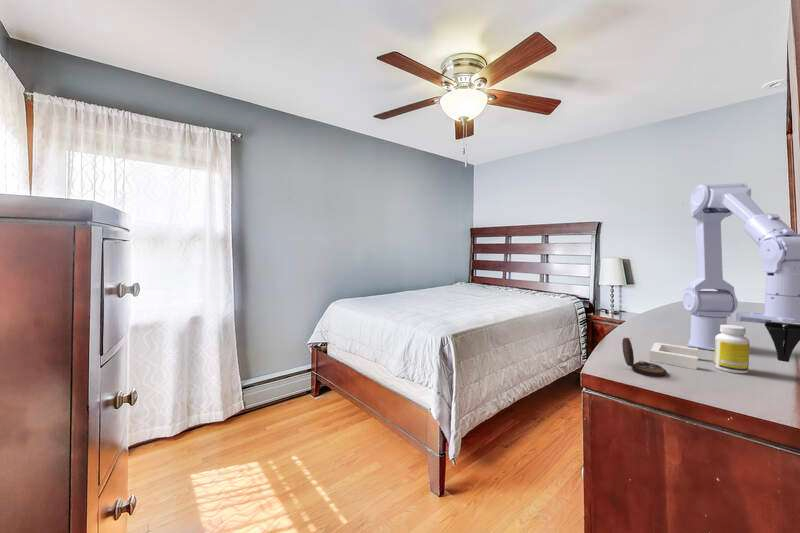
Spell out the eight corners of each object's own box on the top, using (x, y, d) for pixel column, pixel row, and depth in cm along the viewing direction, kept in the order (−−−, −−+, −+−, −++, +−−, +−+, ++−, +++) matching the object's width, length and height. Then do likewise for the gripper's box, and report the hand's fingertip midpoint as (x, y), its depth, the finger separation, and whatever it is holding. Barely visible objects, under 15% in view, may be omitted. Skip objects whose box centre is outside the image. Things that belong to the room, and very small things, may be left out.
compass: (671, 379, 69) (672, 344, 68) (626, 373, 72) (627, 340, 71) (658, 366, 76) (659, 335, 76) (618, 362, 79) (619, 332, 79)
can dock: (654, 351, 87) (655, 342, 87) (698, 358, 81) (698, 348, 81) (649, 360, 80) (649, 350, 80) (696, 369, 74) (697, 358, 74)
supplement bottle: (755, 375, 70) (757, 329, 70) (725, 373, 72) (727, 328, 71) (735, 366, 76) (737, 324, 75) (707, 364, 77) (709, 323, 76)
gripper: (736, 293, 70) (734, 357, 70) (850, 300, 60) (846, 374, 60) (734, 290, 75) (732, 349, 75) (839, 296, 65) (836, 364, 65)
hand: (782, 360), depth 68 cm, fingers closed
